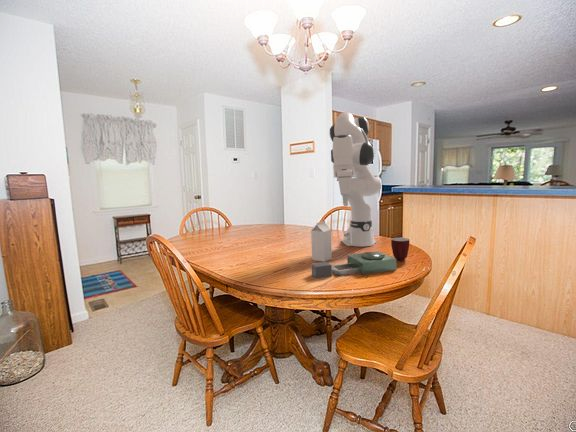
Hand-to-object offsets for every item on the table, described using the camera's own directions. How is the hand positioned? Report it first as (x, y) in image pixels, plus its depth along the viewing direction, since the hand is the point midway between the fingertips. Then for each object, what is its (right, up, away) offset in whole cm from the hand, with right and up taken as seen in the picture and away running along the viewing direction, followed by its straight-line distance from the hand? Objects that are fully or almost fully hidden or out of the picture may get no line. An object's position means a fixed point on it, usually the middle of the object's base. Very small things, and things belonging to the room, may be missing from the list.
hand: (345, 205), depth 130 cm
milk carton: (-8, -27, +20) cm, 34 cm away
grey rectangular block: (-11, -30, -3) cm, 32 cm away
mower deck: (+7, -28, +3) cm, 29 cm away
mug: (+28, -26, +13) cm, 41 cm away
